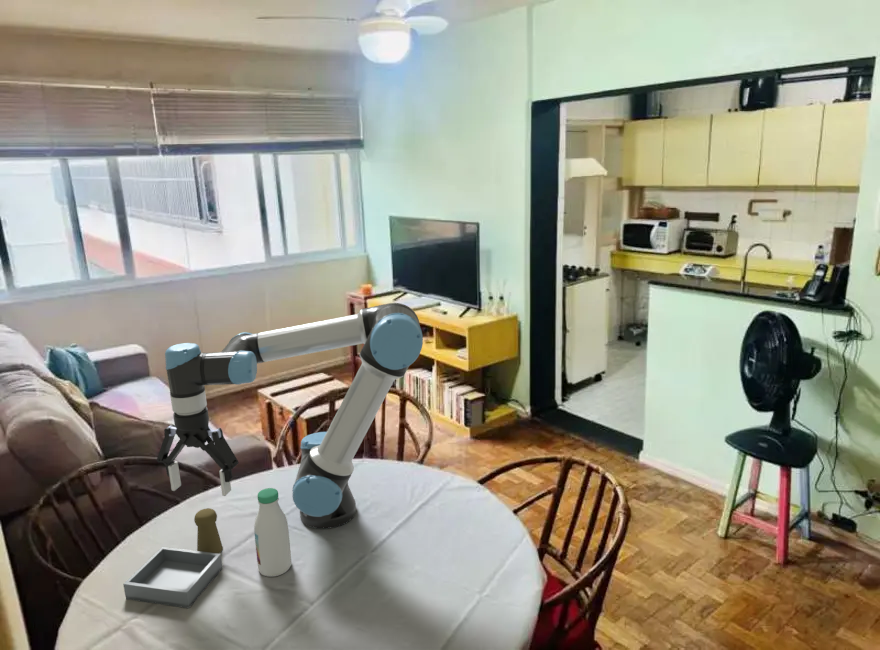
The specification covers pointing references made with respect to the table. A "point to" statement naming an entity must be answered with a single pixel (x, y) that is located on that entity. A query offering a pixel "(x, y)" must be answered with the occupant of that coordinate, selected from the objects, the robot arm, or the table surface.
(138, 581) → the tray
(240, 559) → the table surface
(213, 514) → the cork
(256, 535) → the milk bottle
